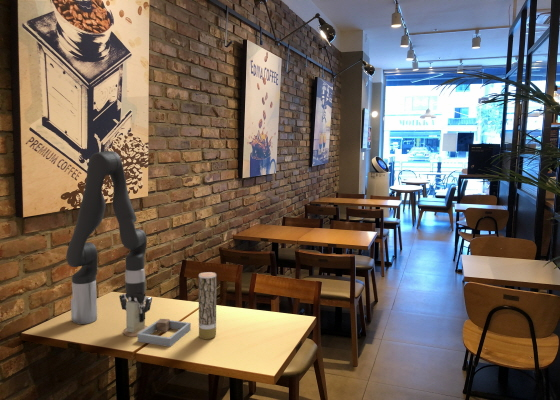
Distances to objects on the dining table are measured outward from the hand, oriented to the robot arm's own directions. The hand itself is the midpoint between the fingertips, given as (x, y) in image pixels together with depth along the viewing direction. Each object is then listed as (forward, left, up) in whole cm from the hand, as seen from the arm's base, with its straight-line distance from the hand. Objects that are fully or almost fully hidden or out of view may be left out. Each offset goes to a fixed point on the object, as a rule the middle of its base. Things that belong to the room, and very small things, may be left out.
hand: (136, 320), depth 178 cm
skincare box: (0, 0, -4) cm, 4 cm away
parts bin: (+13, 0, -4) cm, 14 cm away
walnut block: (+10, +4, -5) cm, 12 cm away
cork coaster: (0, 0, -4) cm, 4 cm away
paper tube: (+29, +5, -5) cm, 30 cm away
